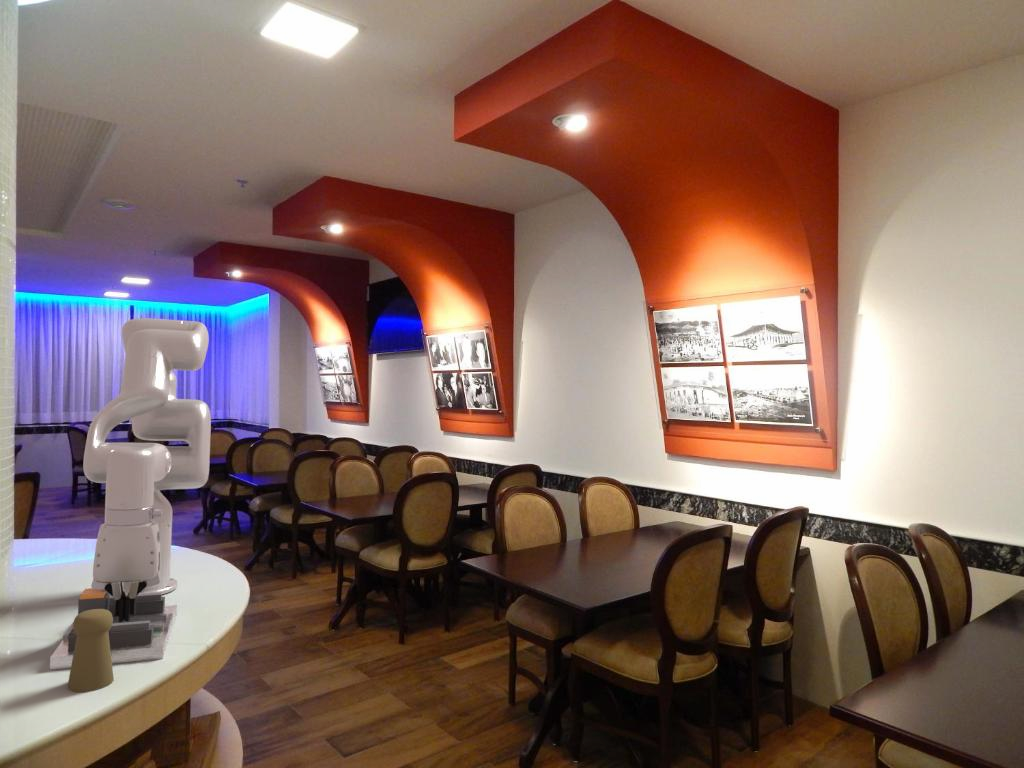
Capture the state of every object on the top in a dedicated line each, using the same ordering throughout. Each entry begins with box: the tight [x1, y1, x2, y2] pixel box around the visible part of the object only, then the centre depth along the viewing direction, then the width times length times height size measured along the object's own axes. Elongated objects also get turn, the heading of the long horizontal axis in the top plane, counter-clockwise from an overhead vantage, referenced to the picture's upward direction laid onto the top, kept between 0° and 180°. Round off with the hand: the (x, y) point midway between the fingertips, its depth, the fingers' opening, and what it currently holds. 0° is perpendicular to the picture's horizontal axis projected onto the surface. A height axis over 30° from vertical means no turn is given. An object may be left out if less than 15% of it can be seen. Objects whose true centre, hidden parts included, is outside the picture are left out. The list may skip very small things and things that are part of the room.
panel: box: [49, 604, 178, 671], centre depth 119 cm, size 22×16×3 cm
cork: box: [67, 609, 115, 693], centre depth 102 cm, size 6×6×11 cm
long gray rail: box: [68, 593, 166, 652], centre depth 119 cm, size 18×12×3 cm, turn 21°
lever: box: [77, 587, 111, 615], centre depth 118 cm, size 4×4×7 cm
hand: (125, 619), depth 120 cm, fingers closed
